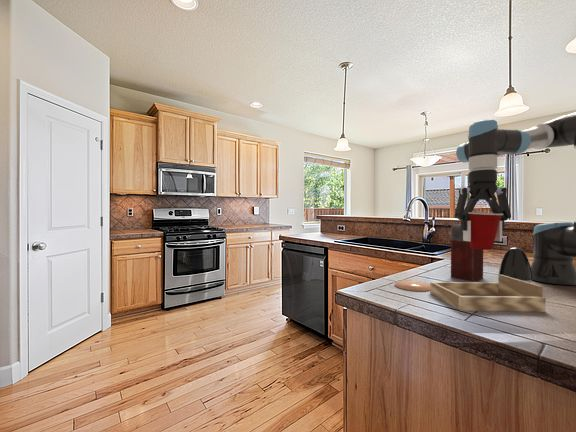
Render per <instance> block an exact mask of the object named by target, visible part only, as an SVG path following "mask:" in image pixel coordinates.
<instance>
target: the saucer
mask: <svg viewBox="0 0 576 432" xmlns="http://www.w3.org/2000/svg"><path fill="white" fill-rule="evenodd" d="M394 287H396V288H399V289H401V290H406V291H409V292H410V291H411V292H430V282H429V283H428V282H425V281H418V280H405V279H403V280H402V279H401V280H397V281H395V286H394Z"/></svg>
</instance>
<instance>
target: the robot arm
mask: <svg viewBox="0 0 576 432" xmlns="http://www.w3.org/2000/svg"><path fill="white" fill-rule="evenodd" d="M467 139H468V141H465V143H461V144H460V145H458V147H457V148H456V150H455V154H456V158H457V160H458V161H459V162H460V163H468V171H469V172H468V180H467V181H468V184H469V185H468V187H460V188H459V189H458V200H457V204H456V207H455V212H454V214H453V215H454V217H453V218H455V219H457V220H458V221H460V225H461V230H463V241H471V221H467V220H468V219H469V217H470V216H469V214H468V212H474V208H475V206H476V205H477V204H478V202H479V201H480V200H482V201H485V202H486V203H487V204H488V206H489V208H490V210H491V211H492V212H491V213H493V214H500V213H501V214H503V215H502V216H501V219H500V221H499V224H498V228H497V233H496V237H495V240H494V242H503V231H504V230H505V221H508V219H511V218H512V214H511V209H510V204H509V201H508V195H507V191H508V188H507V187H498V186H497V181H498V171H497V170H496V169H497V168H498V157H499V156H505V155H520V154H523V153H524V152H526V151H527V150H531V149H535V150H542V149H547V148H556V147H567V146H573V148H574V149H575V150H576V112H572V113H568V114H565V115H562V116H559V117H557V118H554V119H552V120H549V121H546V122H543V123H540V124H536V125H533V126H532V127H531V128H528V129H527V128H526V129H524V130H519V129H504V128H499V125H498V122H497V120H495V119H492V118H491V119H490V118H489V119H482V120H478V121H475V122H473V123H471V124H470V125H469V127H468V135H467ZM468 194H470V196H469V195H468ZM468 196H469V198H468ZM467 200H468V201H467ZM532 236H533V237H532V239H533V241H532V242H533V243H532V244H533V246H532V247H533V259H532V262H531V264H530V267H531V271H532V280H531V281H536V282H541V283H546V284H547V283H548V284H554V285H563V286H564V285H565V286H568V285H569V286H575V285H576V267H575V264H574V258H576V219H575V220H573V222H569V221H567V222H566V221H565V222H550V223H549V222H547V223H540V224H539V223H538V224H537V225H535V226H534V227H533V234H532Z"/></svg>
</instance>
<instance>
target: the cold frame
mask: <svg viewBox="0 0 576 432" xmlns="http://www.w3.org/2000/svg"><path fill="white" fill-rule="evenodd" d="M497 280H498V282H492V281H491V282H481V281H480V282H478V281H473V282H472V281H467V282H466V281H465V282H464V281H461V282H460V281H459V282H458V281H455V282H454V281H430V282H429V284H430V291H429V294H431V295H432V296H434V297H436V298H438V299H439V300H441V301H443V302H444V303H446V304H448V305H449V306H452V307H453V308H455V309H456V310H458V311H461V312H468V311H469V312H475V311H476V312H538V313H539V312H541V313H542V312H543V313H545V312H546V297H545V296H543V286H542V285H539V284H535V283H532V282H531V283H529V282H526V281H522V280H519V279H515V278H512V277H508V276H505V275H499V274H498V279H497Z"/></svg>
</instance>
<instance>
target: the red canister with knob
mask: <svg viewBox="0 0 576 432" xmlns="http://www.w3.org/2000/svg"><path fill="white" fill-rule="evenodd" d="M450 278H453V279H458V280H463V281H467V282H478V281H480V280H482V279H484V250H481V249H472V248H471V246H470V242H469V241H463V230H461V224H453V225H451V228H450Z"/></svg>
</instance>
